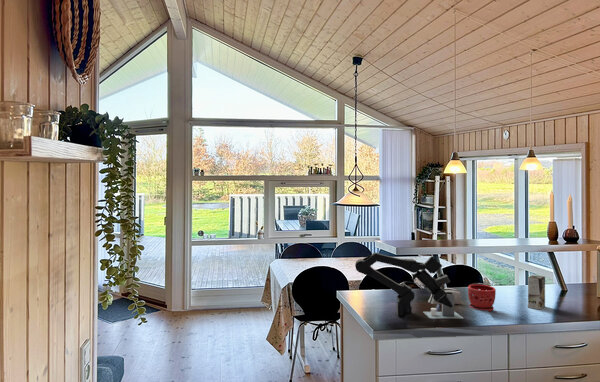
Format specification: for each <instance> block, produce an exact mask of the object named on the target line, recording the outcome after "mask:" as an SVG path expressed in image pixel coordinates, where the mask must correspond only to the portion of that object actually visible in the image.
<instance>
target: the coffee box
mask: <svg viewBox="0 0 600 382" xmlns="http://www.w3.org/2000/svg"><path fill="white" fill-rule="evenodd" d="M527 282H528V283H527V307H528V308H529V309H535V310H539V309H540V311H541V310H542V309H544V308H545V307H546V276H543V275H530V276H528V277H527ZM543 307H544V308H543Z"/></svg>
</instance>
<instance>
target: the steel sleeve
mask: <svg viewBox="0 0 600 382" xmlns="http://www.w3.org/2000/svg"><path fill="white" fill-rule="evenodd" d="M446 293H447V295H446V297H447V299H448V300H449V301H450V303H451V304H452V306H453V307H452V308H450V307H448V306H446V305H444V304H441V312H442V315H443V316H449V317H454V312H455V304H454V293H453V292H446Z"/></svg>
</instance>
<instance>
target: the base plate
mask: <svg viewBox="0 0 600 382" xmlns="http://www.w3.org/2000/svg"><path fill="white" fill-rule="evenodd" d="M423 313H424V315H426V316H427V318H429V319H464V317H463V316H461V315H460V314H459V313H457V312H456V311H454V317H449V316H443V315H442V311H437V308H436V307H431V308H430V311H423Z"/></svg>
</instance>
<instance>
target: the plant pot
mask: <svg viewBox="0 0 600 382" xmlns="http://www.w3.org/2000/svg"><path fill="white" fill-rule="evenodd" d="M496 290H497V289H496V288H495V287H494V286H490V285H486V284H469V285H468V287H467V294H468V295H467V296H468V300H469V307H470V308H472V309H473V310H479V311H487V312H488V313H490V312H491V313H492V311H494V304H495V300H496V295H497V293H496Z"/></svg>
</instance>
